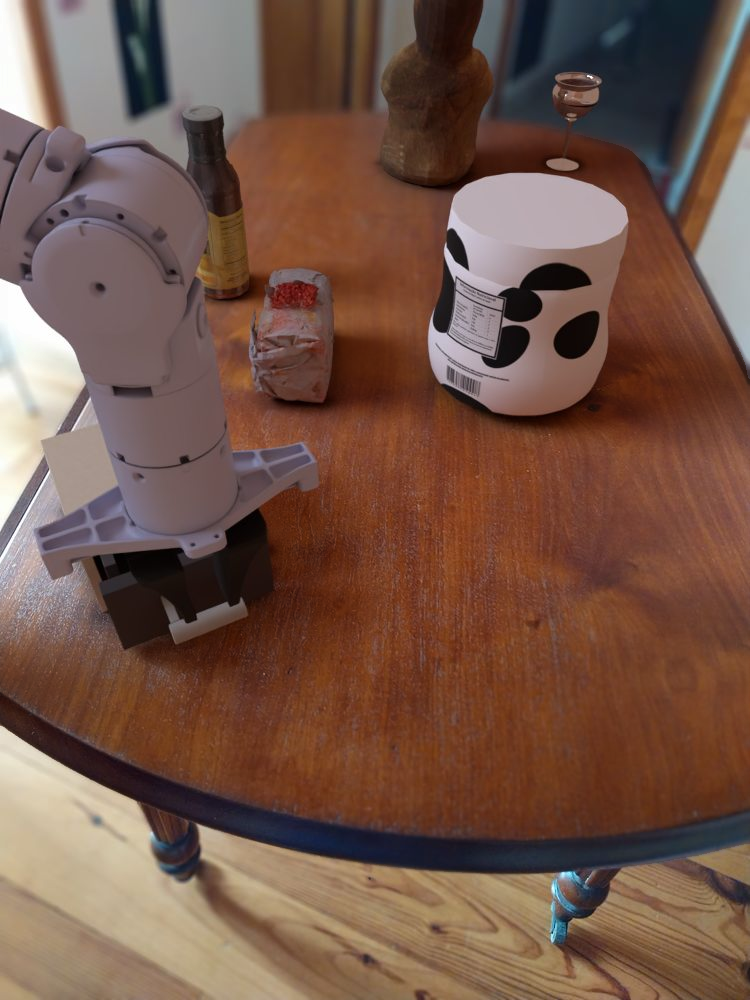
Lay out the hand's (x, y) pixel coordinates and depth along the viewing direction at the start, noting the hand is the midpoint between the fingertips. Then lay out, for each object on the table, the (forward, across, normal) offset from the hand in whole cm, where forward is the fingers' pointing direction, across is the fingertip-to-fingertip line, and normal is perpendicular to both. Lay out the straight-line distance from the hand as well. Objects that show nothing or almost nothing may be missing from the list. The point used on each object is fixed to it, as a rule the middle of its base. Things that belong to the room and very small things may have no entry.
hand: (208, 601), depth 45 cm
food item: (+10, +19, +32) cm, 38 cm away
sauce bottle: (+10, +18, +50) cm, 54 cm away
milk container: (+10, +38, +20) cm, 44 cm away
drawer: (+9, 0, +9) cm, 12 cm away
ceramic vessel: (+10, +57, +68) cm, 89 cm away
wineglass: (+10, +78, +63) cm, 100 cm away
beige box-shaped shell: (+9, 0, +16) cm, 18 cm away
